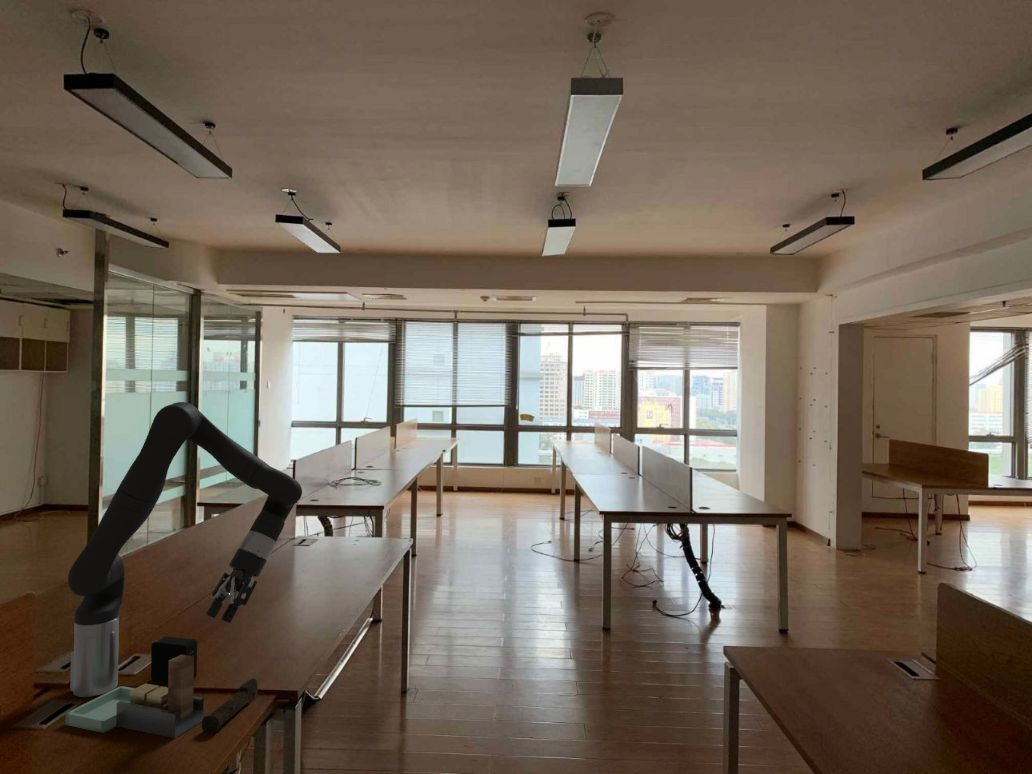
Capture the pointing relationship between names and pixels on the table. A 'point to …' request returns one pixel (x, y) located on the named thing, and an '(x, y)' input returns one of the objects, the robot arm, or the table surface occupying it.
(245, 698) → the hand tool
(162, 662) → the electronic device
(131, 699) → the tan cube
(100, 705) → the tray
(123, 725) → the slot rail
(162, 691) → the pale yellow cube
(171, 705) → the tan wooden block
